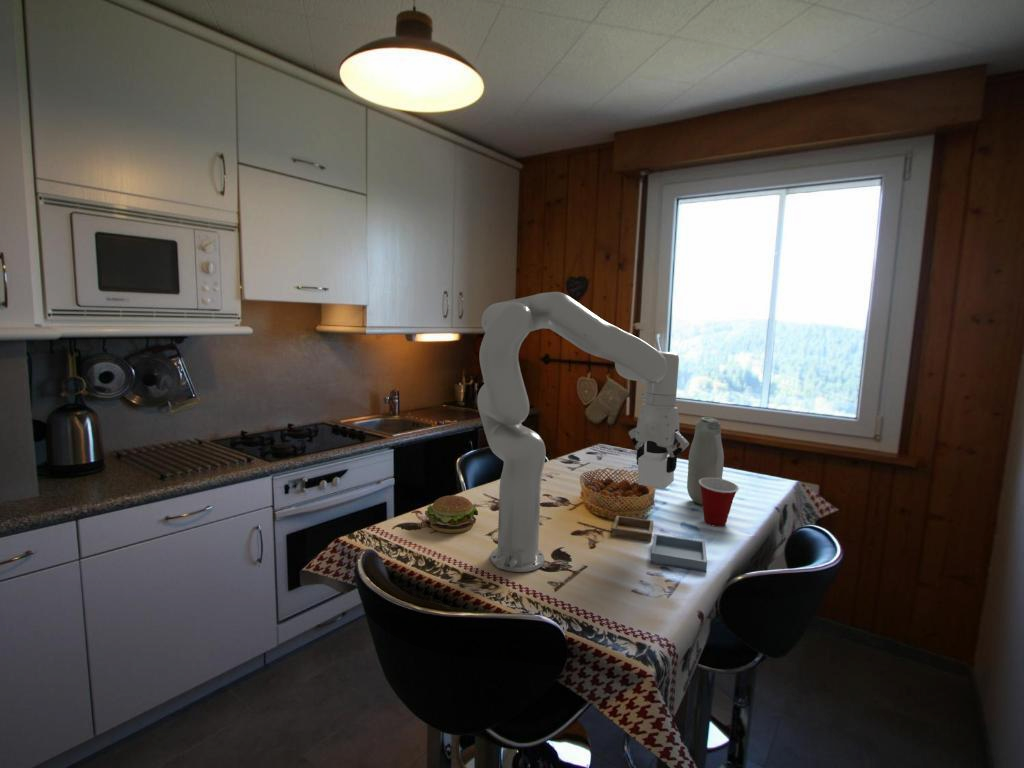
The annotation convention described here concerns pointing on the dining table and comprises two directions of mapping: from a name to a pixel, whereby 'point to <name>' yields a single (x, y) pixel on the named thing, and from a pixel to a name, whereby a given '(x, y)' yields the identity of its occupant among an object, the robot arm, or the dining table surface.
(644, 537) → the collar
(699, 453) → the grey bottle
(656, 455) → the medicine bottle
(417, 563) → the dining table surface
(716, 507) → the plastic cup
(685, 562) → the tray
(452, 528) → the food
